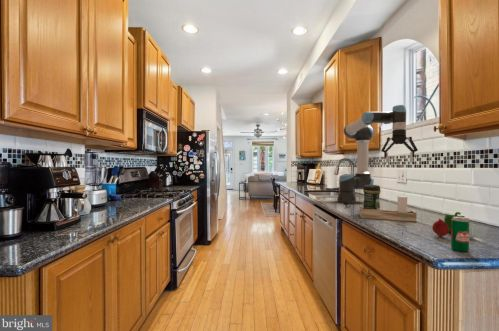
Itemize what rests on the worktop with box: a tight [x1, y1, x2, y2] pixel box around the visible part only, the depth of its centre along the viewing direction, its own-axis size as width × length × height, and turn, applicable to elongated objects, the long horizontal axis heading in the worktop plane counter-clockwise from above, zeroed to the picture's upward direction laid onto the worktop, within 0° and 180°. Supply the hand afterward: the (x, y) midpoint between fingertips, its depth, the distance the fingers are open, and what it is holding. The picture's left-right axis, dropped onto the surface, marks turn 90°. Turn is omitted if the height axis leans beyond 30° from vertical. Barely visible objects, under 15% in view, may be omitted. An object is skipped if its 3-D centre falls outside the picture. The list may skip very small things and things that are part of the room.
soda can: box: [450, 215, 470, 253], centre depth 91 cm, size 5×5×12 cm
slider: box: [396, 195, 408, 213], centre depth 143 cm, size 4×4×10 cm
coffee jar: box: [362, 184, 381, 210], centre depth 159 cm, size 10×8×19 cm
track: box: [359, 206, 418, 222], centre depth 146 cm, size 10×28×5 cm, turn 71°
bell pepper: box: [443, 211, 465, 234], centre depth 114 cm, size 8×8×10 cm
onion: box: [432, 218, 450, 238], centre depth 108 cm, size 6×6×8 cm
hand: (398, 162), depth 160 cm, fingers open, 13 cm apart
